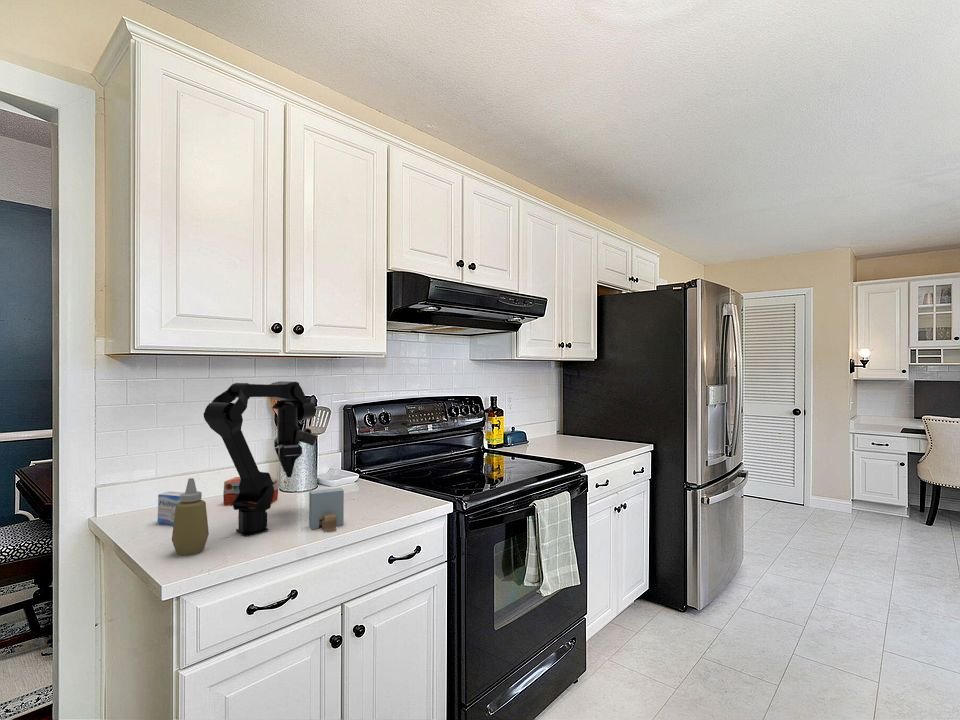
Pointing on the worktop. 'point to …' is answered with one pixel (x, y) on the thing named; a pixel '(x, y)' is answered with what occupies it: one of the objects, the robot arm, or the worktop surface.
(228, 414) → the robot arm
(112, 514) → the worktop surface
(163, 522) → the medicine box
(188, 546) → the squeeze bottle
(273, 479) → the medicine box
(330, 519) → the tan stepped bar
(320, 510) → the grey slotted plate
